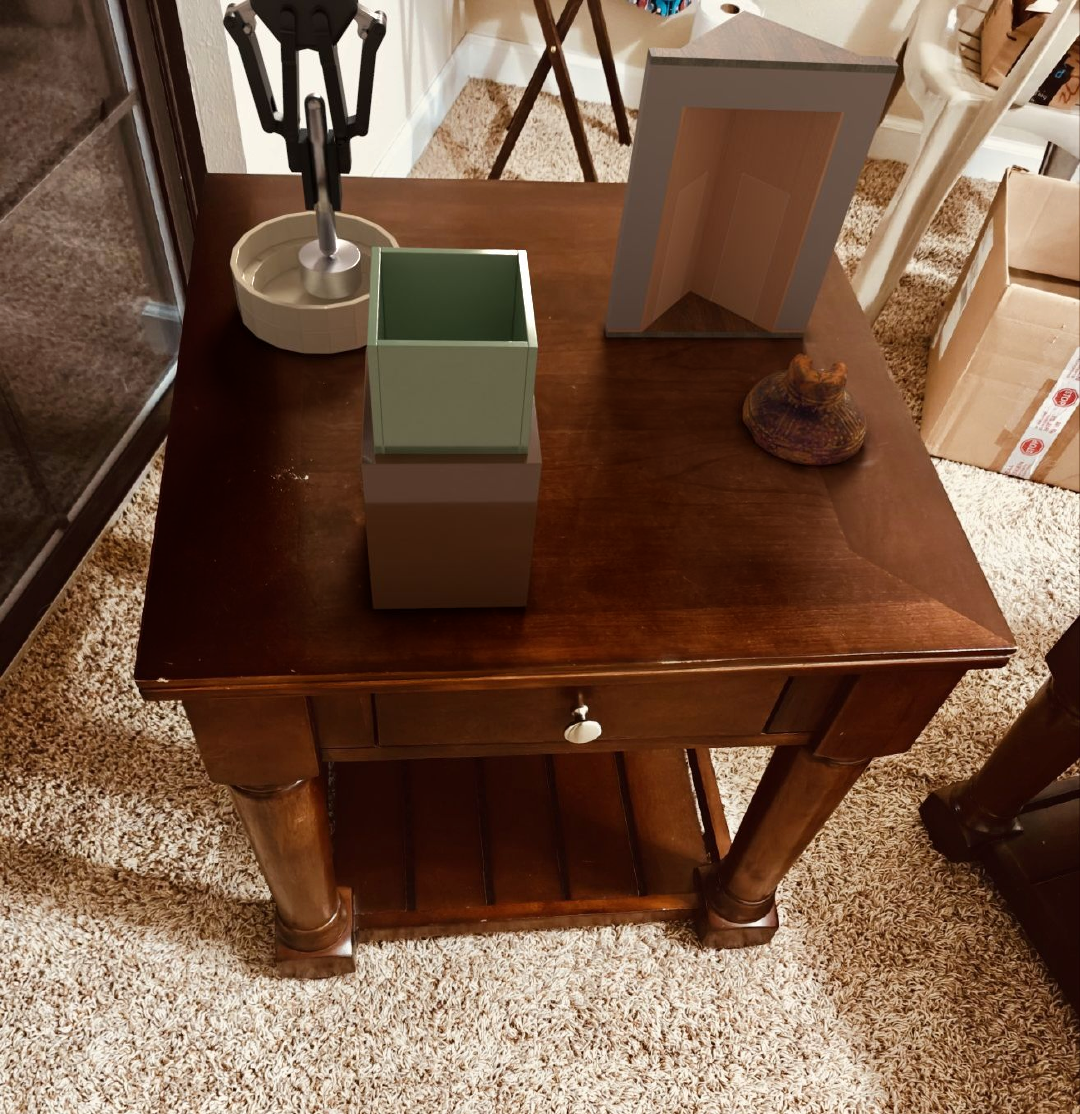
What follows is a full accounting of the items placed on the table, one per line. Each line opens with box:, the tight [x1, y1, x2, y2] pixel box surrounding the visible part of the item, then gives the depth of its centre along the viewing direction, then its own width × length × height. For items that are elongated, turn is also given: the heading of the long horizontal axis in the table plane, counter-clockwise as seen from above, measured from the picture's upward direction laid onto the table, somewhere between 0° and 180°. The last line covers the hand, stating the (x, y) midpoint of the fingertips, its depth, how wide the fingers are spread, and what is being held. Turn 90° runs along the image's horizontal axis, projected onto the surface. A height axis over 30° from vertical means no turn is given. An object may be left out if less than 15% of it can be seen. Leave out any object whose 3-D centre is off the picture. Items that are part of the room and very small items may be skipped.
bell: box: [742, 353, 868, 466], centre depth 92 cm, size 12×12×7 cm
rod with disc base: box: [298, 92, 362, 299], centre depth 92 cm, size 6×6×19 cm
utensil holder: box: [360, 247, 543, 610], centre depth 72 cm, size 12×12×25 cm
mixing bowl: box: [229, 210, 401, 355], centre depth 98 cm, size 16×16×6 cm
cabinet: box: [603, 10, 899, 339], centre depth 95 cm, size 21×10×28 cm, turn 95°
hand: (324, 202), depth 93 cm, fingers closed on rod with disc base, 2 cm apart
